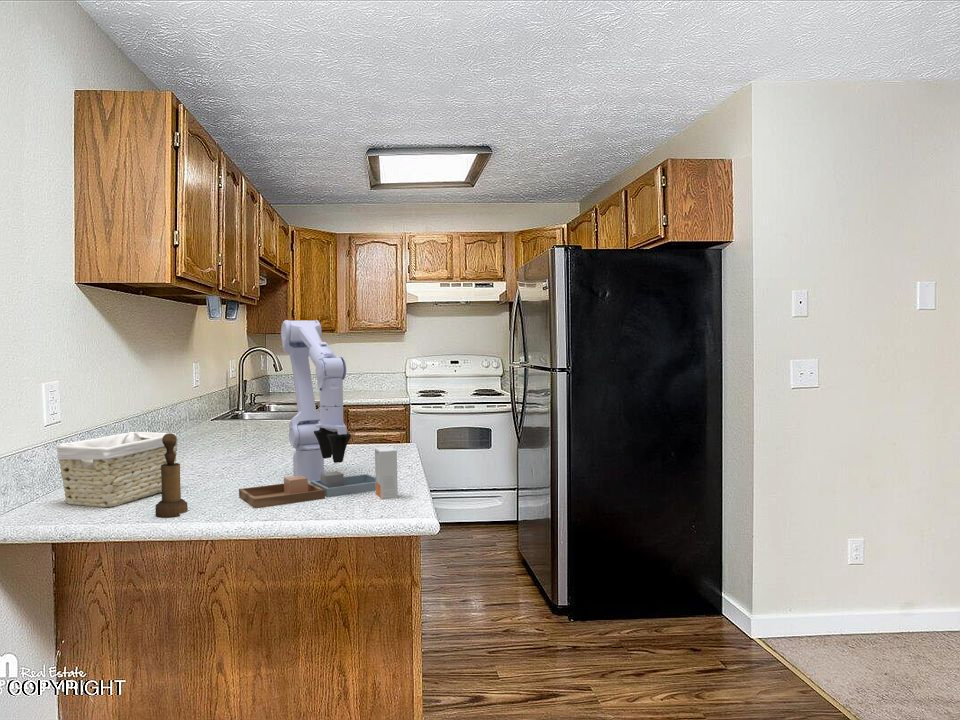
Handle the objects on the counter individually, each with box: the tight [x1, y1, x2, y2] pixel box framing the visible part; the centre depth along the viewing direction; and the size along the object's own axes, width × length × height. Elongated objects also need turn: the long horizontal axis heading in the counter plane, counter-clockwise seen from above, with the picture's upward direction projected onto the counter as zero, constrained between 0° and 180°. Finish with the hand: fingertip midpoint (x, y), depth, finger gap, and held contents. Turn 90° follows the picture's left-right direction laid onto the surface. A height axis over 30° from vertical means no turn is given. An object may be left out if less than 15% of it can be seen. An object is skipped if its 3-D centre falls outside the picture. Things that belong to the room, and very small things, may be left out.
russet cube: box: [283, 475, 308, 495], centre depth 176 cm, size 4×4×4 cm
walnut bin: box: [238, 482, 326, 509], centre depth 174 cm, size 14×17×2 cm
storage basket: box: [56, 431, 179, 508], centre depth 180 cm, size 24×16×15 cm
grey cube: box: [320, 470, 345, 488], centre depth 181 cm, size 4×4×4 cm
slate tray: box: [309, 473, 376, 498], centre depth 183 cm, size 12×16×2 cm
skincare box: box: [374, 446, 399, 500], centre depth 175 cm, size 6×4×12 cm
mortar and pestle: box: [154, 432, 189, 518], centre depth 162 cm, size 7×6×18 cm
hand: (332, 460), depth 181 cm, fingers open, 7 cm apart
